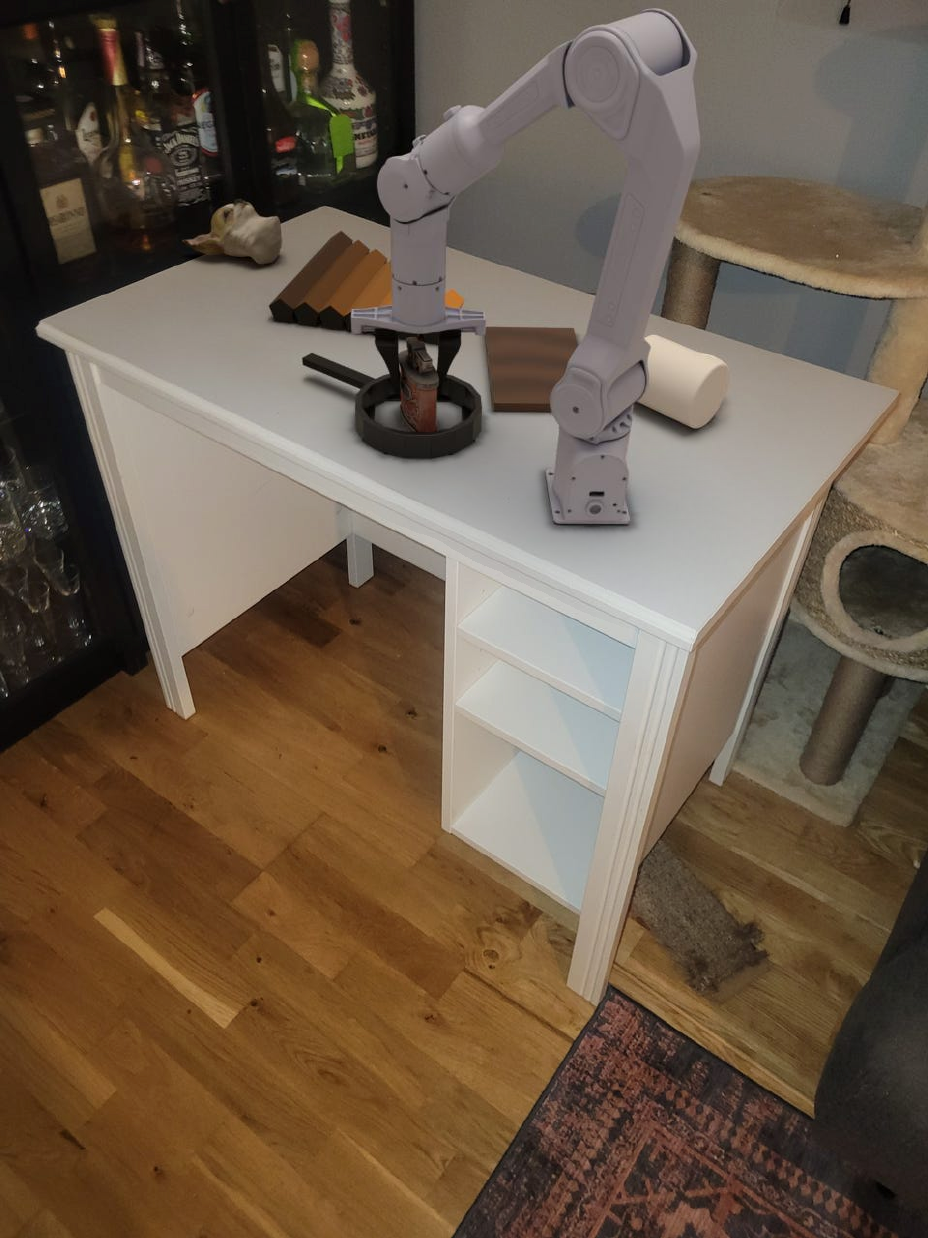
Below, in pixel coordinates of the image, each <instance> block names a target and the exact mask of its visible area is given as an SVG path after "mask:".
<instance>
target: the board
mask: <svg viewBox="0 0 928 1238" xmlns="http://www.w3.org/2000/svg"><path fill="white" fill-rule="evenodd" d="M484 337H485V345H486V354H487V363H488V374H489V383H490V392H491V399H492V400H491V401H492V410H493V412H517V413H519V412H524V413H526V412H527V413H552V411H551V407H550V396H551V392H552V390H553V388H554V386H555V385H556V384H557V383H558V382H559V381H560V380H561V379H562V377H563V376H564V374H565V372H566V368H567V364H568V361H569V360H570V358H571V356H572V355H573V353H574V352H575V350H576V349H577V347H578V345H579V343H578V339H577V334H576V330H575V328H574V327H547V326H546V327H545V326H544V327H543V326H541V327H539V326H535V327H534V326H486V327H485V336H484Z"/></svg>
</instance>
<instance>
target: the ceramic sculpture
mask: <svg viewBox="0 0 928 1238" xmlns="http://www.w3.org/2000/svg"><path fill="white" fill-rule="evenodd" d="M182 242H183V244H185V245H187V246H188V247H189V248H191V249H193V250H195V251H197V252H200V253H201V254H204V255H219V254H224V255H227V256H232V257H238V258H245V257H251V258H252V260H254V261H255V262H256V263H257V264H258V265H267V264H271V263H273V262H275V260H276V259H277V257H278V256H279V255H280V254H281V253H280V252H281V249H282V246H283V236H282V224H281V221H280V218H279V216H277V215H275V216H269V217H266V216H265V217H264V216H261V215H259V214H258V212H257V211H256V210H255V208H254V206H253V204H251V203H250V202H248V201H245V200H243V199H242V198H236V199H235V200H234V202H233V203H229V204H226V205H224V206H222V207H220V208H218V209H217V210H216V211H215V212H214V214H213V215H212V217H211V221H210V233H207V234H200V235H198V236H196V237H194V238H193V239H192V238H190V239H182Z"/></svg>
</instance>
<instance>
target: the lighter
mask: <svg viewBox="0 0 928 1238" xmlns="http://www.w3.org/2000/svg"><path fill="white" fill-rule="evenodd" d="M405 346H406V350H401V351H400V352H399V366H400V372H401V401H400V404H399V407H398V409H399V416H400V420H401V422H402V424H403V426H404V427H405V429H406V430H407V432H433V431H437V430H439V428H438V424H437V412H438V411H437V410H438V409H437V408H438V407H437V403H438V401H437V386H438V385H439V377H438V374H437V368H435V365H434V363H433V362H434V359H433V358H432V356H431V355H429V354H430V353H428V352H427V346H426V343H425V341H419V340H418V338H415V337H409V338H407V339H406V340H405Z"/></svg>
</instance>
